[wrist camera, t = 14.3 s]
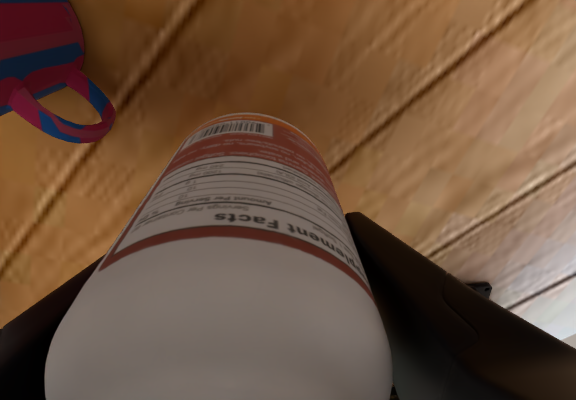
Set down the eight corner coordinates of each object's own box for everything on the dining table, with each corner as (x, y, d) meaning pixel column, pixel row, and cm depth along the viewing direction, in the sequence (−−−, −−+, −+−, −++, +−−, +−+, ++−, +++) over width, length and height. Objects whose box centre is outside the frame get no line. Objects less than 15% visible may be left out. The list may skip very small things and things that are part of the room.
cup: (-28, -92, 14) (-227, -154, 8) (160, 78, 18) (115, 113, 13) (-80, 23, 16) (-266, 36, 10) (100, 150, 21) (37, 208, 15)
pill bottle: (260, 264, 15) (238, 705, 5) (143, 189, 13) (-254, 742, 3) (359, 178, 13) (614, 670, 3) (240, 68, 10) (-116, 704, 1)
